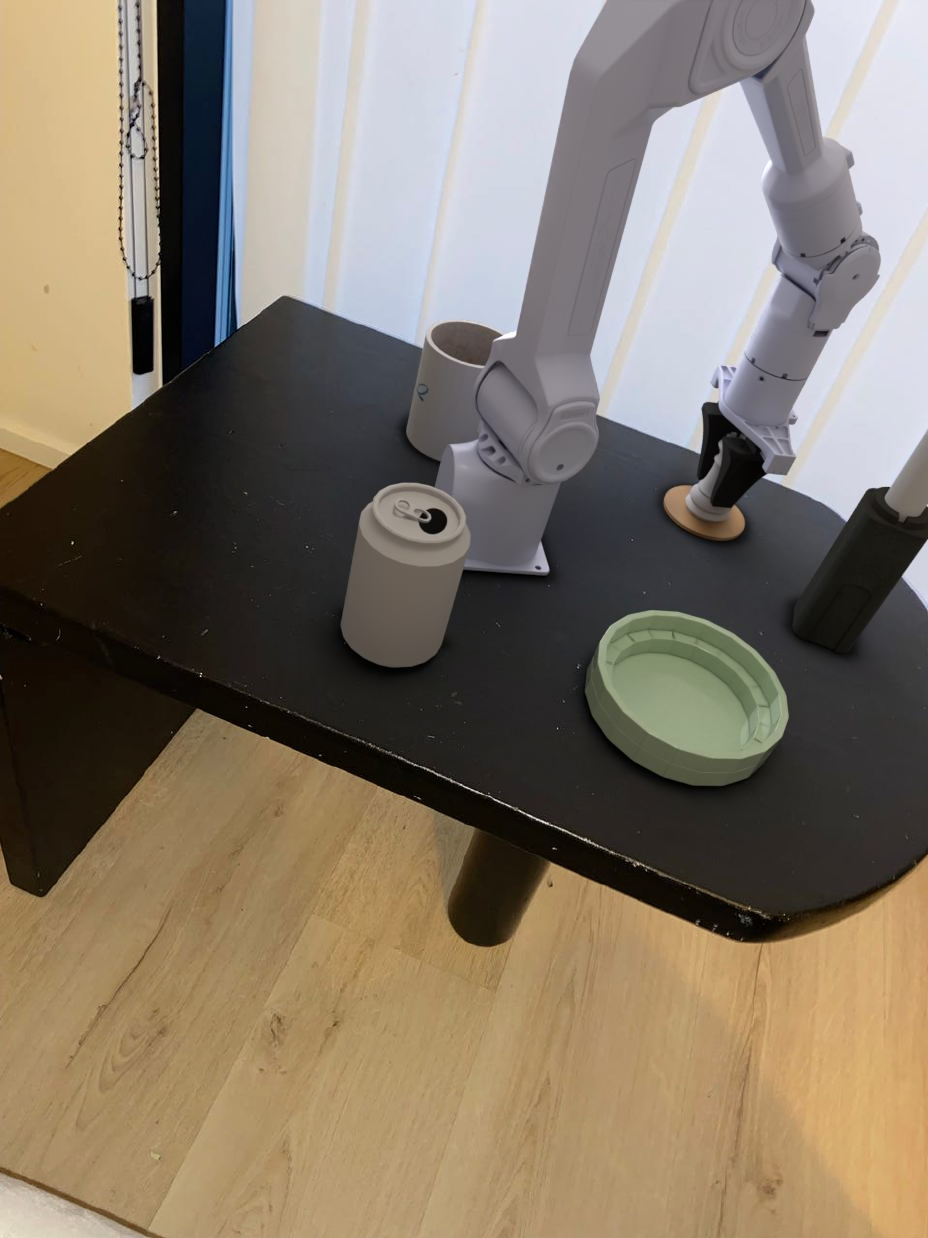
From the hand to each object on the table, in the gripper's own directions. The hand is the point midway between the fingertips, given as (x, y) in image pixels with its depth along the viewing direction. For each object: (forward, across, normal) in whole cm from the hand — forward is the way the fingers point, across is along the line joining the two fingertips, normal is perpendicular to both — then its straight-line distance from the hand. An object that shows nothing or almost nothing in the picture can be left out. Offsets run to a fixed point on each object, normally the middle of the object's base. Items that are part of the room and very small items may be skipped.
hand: (713, 492), depth 89 cm
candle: (+3, -15, -6) cm, 16 cm away
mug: (+3, +10, +23) cm, 25 cm away
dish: (+3, -25, +11) cm, 27 cm away
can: (+3, -19, +32) cm, 37 cm away
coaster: (+3, 0, 0) cm, 3 cm away
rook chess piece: (+2, 0, 0) cm, 2 cm away
